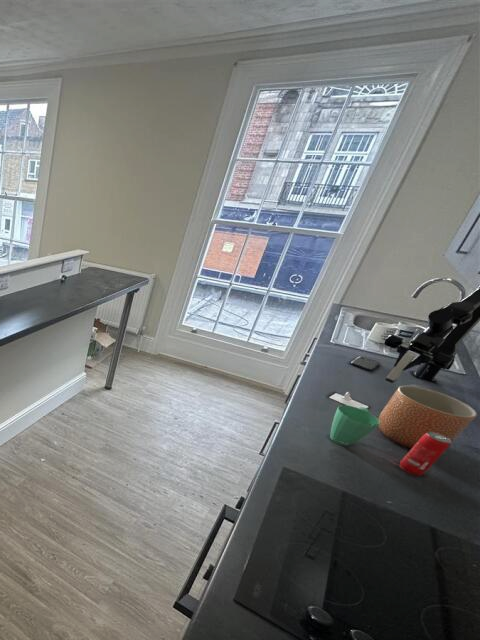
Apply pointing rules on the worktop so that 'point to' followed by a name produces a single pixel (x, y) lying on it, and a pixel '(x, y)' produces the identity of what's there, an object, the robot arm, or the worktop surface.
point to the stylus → (400, 367)
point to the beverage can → (424, 453)
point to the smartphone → (365, 363)
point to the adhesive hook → (347, 400)
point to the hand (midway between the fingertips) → (398, 368)
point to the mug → (352, 424)
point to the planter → (423, 415)
